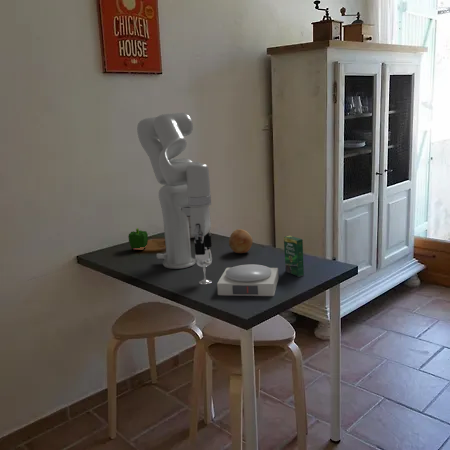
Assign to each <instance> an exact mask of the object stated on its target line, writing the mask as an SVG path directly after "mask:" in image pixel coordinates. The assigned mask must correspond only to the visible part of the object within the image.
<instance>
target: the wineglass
mask: <svg viewBox="0 0 450 450" xmlns="http://www.w3.org/2000/svg"><path fill="white" fill-rule="evenodd" d="M210 248H211V247H205V254H204V255H196V253H195V252H194V253H195V254H194V259H195V261H196V263H195V264H196V265H197V266H199V267H200V268H202V270H203V271H202V272H203V279H201V280H199V281H198V284H200V285H209V284H211V283H212V282H213V281H212V280H210V279H207V277H206V271H207V269H206V267H209V266H210V265H212V261H213V257H212V251H211V249H210Z"/></svg>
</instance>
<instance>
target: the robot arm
mask: <svg viewBox="0 0 450 450" xmlns="http://www.w3.org/2000/svg"><path fill="white" fill-rule="evenodd" d="M136 127H137V128H136V132H137V137H138V141H139V143H140V145H141V146H142V149H143V150H144V151H145V153H146V155H147V156H148V159H149V162H150V165H151V168H152V170H153V172H154V176H155V179H156V180H157V182H158V183H159V184H160V185H162V187H160V188H159V189H158V190H159V191H158V199H159V205H160V209H161V213H162V221H163V222H162V223H163V228H164V229H163V231H164V232H163V233H164V239H165V240H164V242H165V252H164V253H156V259H157V261H158V260H160V261H161V260H163V261H162V265H163V267H164V268H167V269H186V268H189V267H192V266H194V265H195V264H196V261H195V257H193V256H192V251H191V250H192V248H191V238H190V234H189V222H188V218H187V216H186V215H185V214H184V213H183V212H182V210H181V208H184V207H191V211H190V219H191V235H192V236H195V237H194V238H193V240H194V241H193V243H194V253H196V255H204V254H205V247H208V248H211V247H212V246H213V245H212V244H213V243H212V236H211V230H212V222H211V212H210V206H212V195H211V194H212V193H211V182H210V169H209V165H207V164H206V163H202V162H200V161H192V160H191V158H190V159H189V158H188V157H187V158H176V157H177V156H179V155H181V154H182V153H184V151H185V150H186V147H187V140H186V137H187V136H190V135H191V134H192V133H193V129H194V125H193V120H192V118H191V116H190V115H189V114H187V113H186V112H173V113H164V114H159V115H158V116H151V117H146V118H143V119H141V120H140V121H139V122H138V123H137V126H136Z"/></svg>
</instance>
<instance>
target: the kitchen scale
mask: <svg viewBox="0 0 450 450" xmlns="http://www.w3.org/2000/svg"><path fill="white" fill-rule="evenodd" d="M278 282H279V267H269V266H266V265H261V264H241V265H235V266H233V267H226V268H225V270H224V272H223V273H222V274H221V277H220V278H219V280H218V282H217V283H216V286H217V296H240V297H241V296H243V297H244V296H248V297H250V296H251V297H253V296H254V297H274V296H275V294H276V290H277V287H278V286H277V285H278Z"/></svg>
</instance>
